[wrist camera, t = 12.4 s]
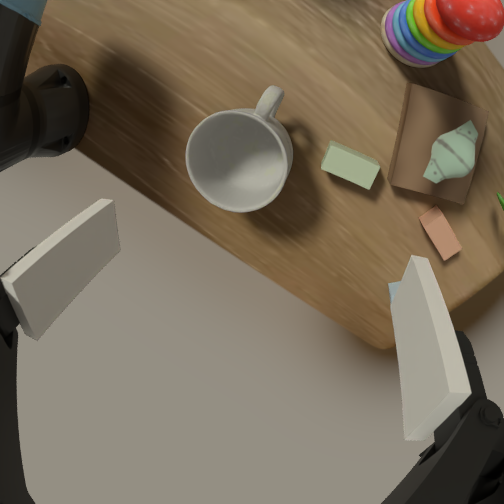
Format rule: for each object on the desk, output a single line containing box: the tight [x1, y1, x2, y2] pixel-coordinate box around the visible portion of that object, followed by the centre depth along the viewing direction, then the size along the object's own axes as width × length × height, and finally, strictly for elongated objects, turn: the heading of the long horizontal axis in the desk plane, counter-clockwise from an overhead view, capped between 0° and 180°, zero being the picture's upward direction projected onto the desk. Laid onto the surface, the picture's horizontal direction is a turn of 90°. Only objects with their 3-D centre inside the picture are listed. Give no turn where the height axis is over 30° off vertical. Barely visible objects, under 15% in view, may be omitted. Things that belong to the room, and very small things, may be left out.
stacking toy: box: [381, 0, 504, 68], centre depth 18 cm, size 8×8×19 cm
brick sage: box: [321, 140, 380, 189], centre depth 35 cm, size 6×3×3 cm, turn 72°
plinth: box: [387, 83, 489, 205], centre depth 30 cm, size 10×12×2 cm
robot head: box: [423, 120, 478, 183], centre depth 27 cm, size 8×4×7 cm, turn 147°
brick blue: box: [388, 281, 401, 304], centre depth 41 cm, size 6×3×3 cm, turn 109°
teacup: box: [186, 86, 293, 212], centre depth 33 cm, size 14×11×8 cm
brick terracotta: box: [419, 205, 462, 261], centre depth 36 cm, size 6×3×3 cm, turn 45°
